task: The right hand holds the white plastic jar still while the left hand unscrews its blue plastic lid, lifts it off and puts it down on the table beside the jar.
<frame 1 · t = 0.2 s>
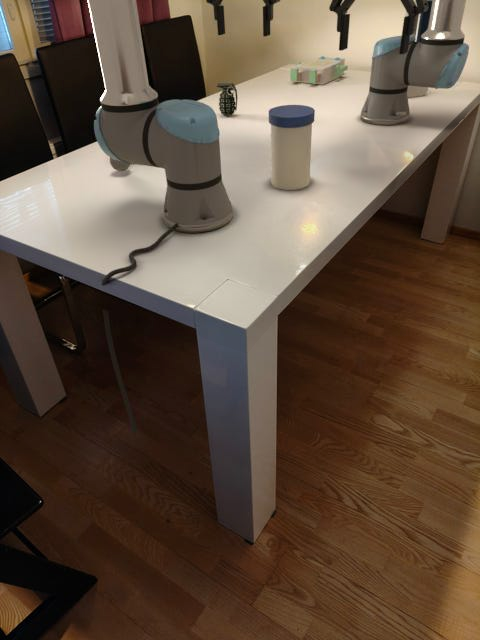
left hand: (243, 35, 129), 28 cm above the table, tool pointing down, fingers open, 13 cm apart
right hand: (372, 51, 104), 28 cm above the table, tool pointing down, fingers open, 13 cm apart
jar: (290, 182, 121), on the table
grenade: (228, 115, 169), on the table
decorative block: (317, 79, 207), on the table
electronic device: (406, 95, 179), on the table
molecular model: (145, 157, 140), on the table
lid: (291, 112, 110), point 17 cm above the table, screwed on, not yet turned
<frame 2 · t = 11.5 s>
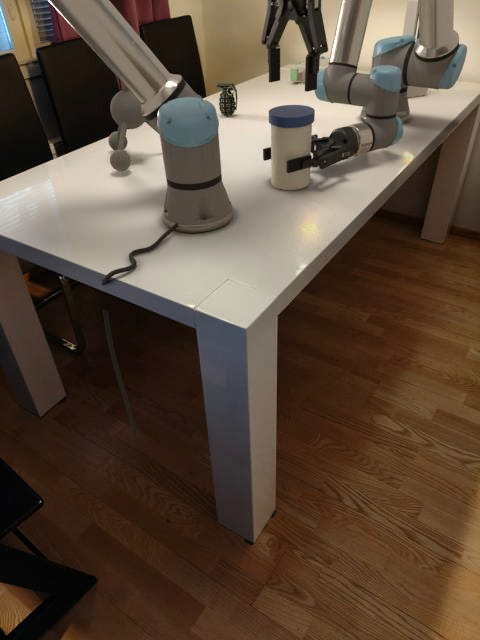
left hand: (291, 85, 107), 22 cm above the table, tool pointing down, fingers open, 12 cm apart
right hand: (275, 160, 115), 6 cm above the table, tool horizontal, fingers closed on jar, 9 cm apart
jar: (290, 182, 121), on the table, touching right hand
everything else where it was.
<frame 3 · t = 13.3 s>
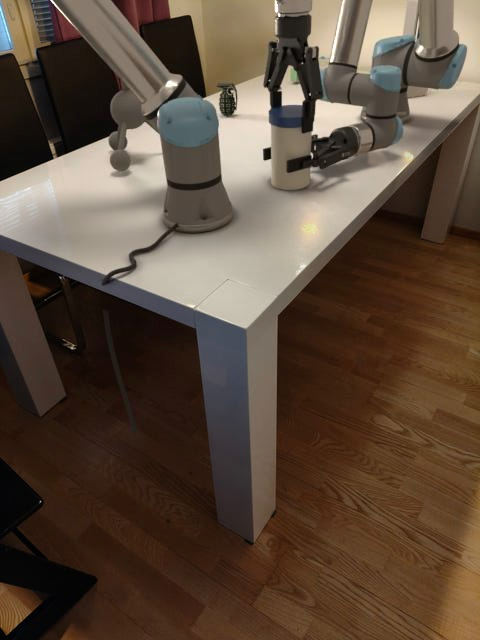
left hand: (291, 126, 112), 13 cm above the table, tool pointing down, fingers closed on lid, 10 cm apart
right hand: (275, 160, 115), 6 cm above the table, tool horizontal, fingers closed on jar, 9 cm apart
jar: (290, 182, 121), on the table, touching right hand
lid: (291, 112, 110), point 16 cm above the table, screwed on, not yet turned, touching left hand
everything else where it was.
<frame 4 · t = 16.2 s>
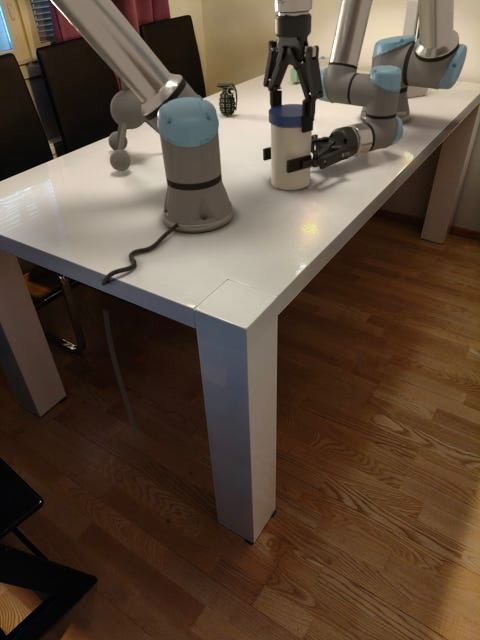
left hand: (291, 125, 112), 14 cm above the table, tool pointing down, fingers closed on lid, 10 cm apart
right hand: (275, 160, 115), 6 cm above the table, tool horizontal, fingers closed on jar, 9 cm apart
jar: (290, 182, 121), on the table, touching right hand
lid: (291, 111, 110), point 17 cm above the table, turned 63° so far, risen 0.2 cm, still on its thread, touching left hand
everything else where it was.
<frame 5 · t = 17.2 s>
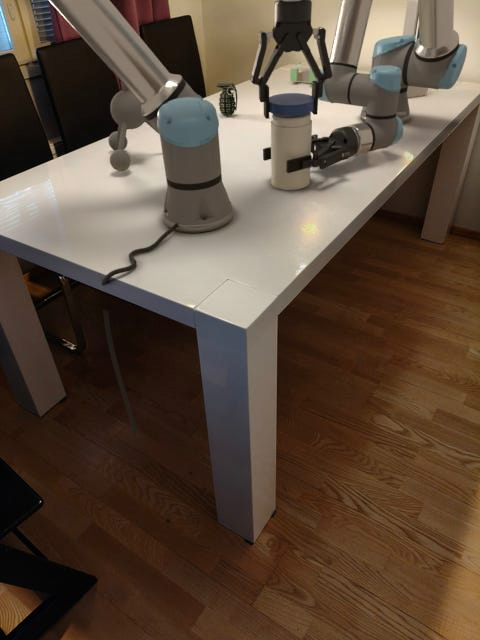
left hand: (290, 115, 111), 16 cm above the table, tool pointing down, fingers closed on lid, 10 cm apart
right hand: (275, 160, 115), 6 cm above the table, tool horizontal, fingers closed on jar, 9 cm apart
jar: (290, 182, 121), on the table, touching right hand
lid: (290, 100, 109), point 19 cm above the table, off its thread, touching left hand
everything else where it was.
when the left hand's fingers open (0 cm above the table, at t = 22.2 s): lid drops 2 cm, point 2 cm above the table.
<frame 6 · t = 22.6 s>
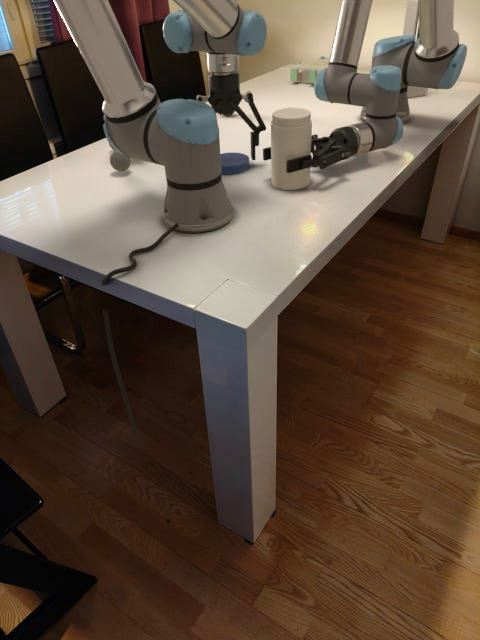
left hand: (227, 160, 129), 2 cm above the table, tool pointing down, fingers open, 13 cm apart
right hand: (275, 160, 115), 6 cm above the table, tool horizontal, fingers closed on jar, 9 cm apart
jar: (290, 182, 121), on the table, touching right hand
lid: (229, 160, 130), point 2 cm above the table, off its thread
everything else where it was.
when the right hand's fingers open (6 cm above the table, at t = 23.2 s): jar stays where it is, on the table.
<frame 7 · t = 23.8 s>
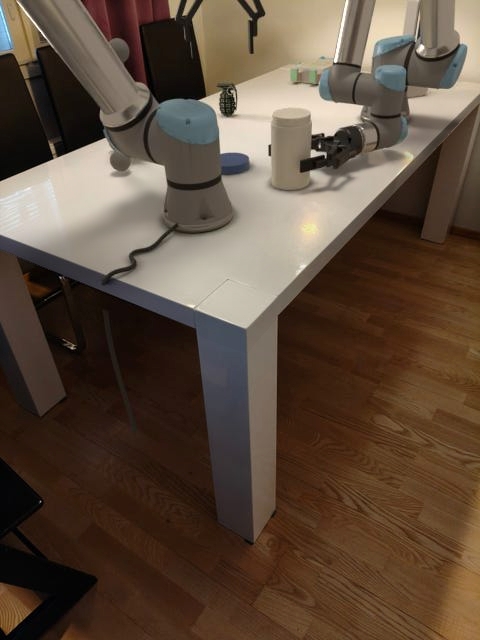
left hand: (222, 55, 114), 27 cm above the table, tool pointing down, fingers open, 13 cm apart
right hand: (284, 158, 116), 6 cm above the table, tool horizontal, fingers open, 13 cm apart
jar: (290, 182, 121), on the table
everything else where it was.
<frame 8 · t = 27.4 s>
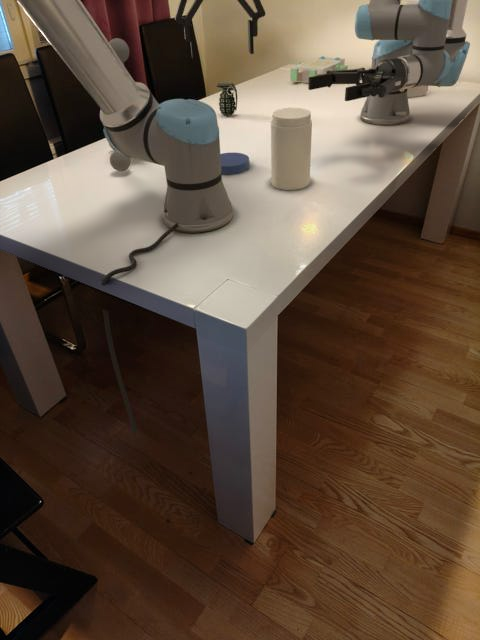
left hand: (222, 55, 114), 27 cm above the table, tool pointing down, fingers open, 13 cm apart
right hand: (326, 88, 112), 20 cm above the table, tool horizontal, fingers open, 13 cm apart
nothing on the table moved.
at the end: lid came off its thread; lid point 1.8 cm above the table; the left hand is holding nothing; the right hand is holding nothing; jar tilted 0°; jar moved 0.0 cm from its start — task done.
